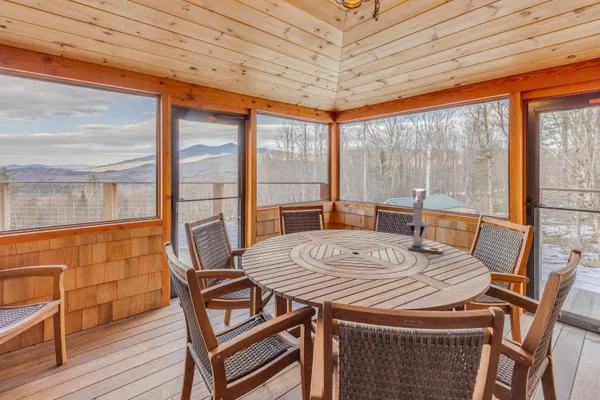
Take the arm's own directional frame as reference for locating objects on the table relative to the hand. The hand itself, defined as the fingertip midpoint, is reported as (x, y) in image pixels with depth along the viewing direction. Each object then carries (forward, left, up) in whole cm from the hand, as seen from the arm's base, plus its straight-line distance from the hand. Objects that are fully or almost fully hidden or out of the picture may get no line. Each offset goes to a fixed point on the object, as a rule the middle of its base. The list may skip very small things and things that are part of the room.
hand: (417, 236), depth 219 cm
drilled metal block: (0, 0, -3) cm, 3 cm away
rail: (0, +6, -10) cm, 11 cm away
